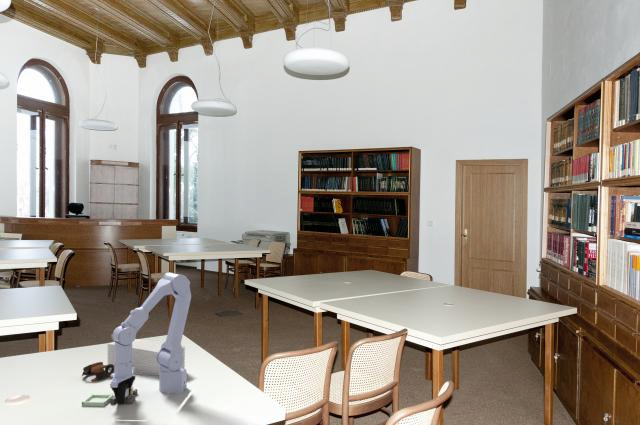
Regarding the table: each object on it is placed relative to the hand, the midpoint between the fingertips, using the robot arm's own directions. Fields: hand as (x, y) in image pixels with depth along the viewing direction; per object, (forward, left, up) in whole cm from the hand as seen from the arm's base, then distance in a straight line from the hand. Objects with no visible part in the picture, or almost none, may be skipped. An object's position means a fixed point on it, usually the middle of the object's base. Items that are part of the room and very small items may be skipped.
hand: (122, 400), depth 166 cm
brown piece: (+20, -23, -2) cm, 31 cm away
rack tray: (+9, +1, -1) cm, 9 cm away
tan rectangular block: (+2, -6, 0) cm, 7 cm away
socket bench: (+4, -4, -2) cm, 6 cm away
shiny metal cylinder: (0, 0, -1) cm, 1 cm away
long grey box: (+6, -37, -2) cm, 37 cm away
